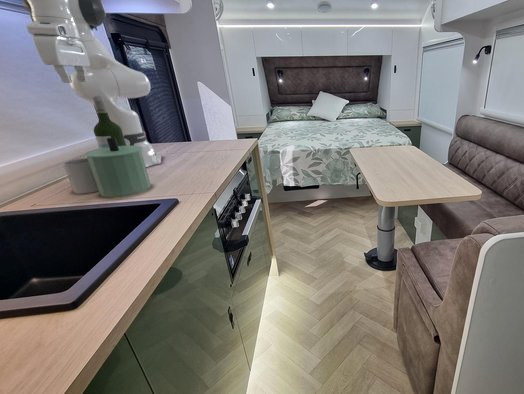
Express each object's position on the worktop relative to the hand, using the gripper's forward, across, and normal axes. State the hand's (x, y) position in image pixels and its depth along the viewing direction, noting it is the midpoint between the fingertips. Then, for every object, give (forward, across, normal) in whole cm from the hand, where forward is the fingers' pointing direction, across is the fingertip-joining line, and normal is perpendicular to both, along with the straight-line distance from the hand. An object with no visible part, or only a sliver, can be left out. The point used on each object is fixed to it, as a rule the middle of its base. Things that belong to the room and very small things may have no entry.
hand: (75, 82), depth 89 cm
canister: (+35, +5, +6) cm, 36 cm away
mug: (+35, -3, -6) cm, 36 cm away
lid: (+21, +5, +6) cm, 23 cm away
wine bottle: (+35, -10, +1) cm, 36 cm away
